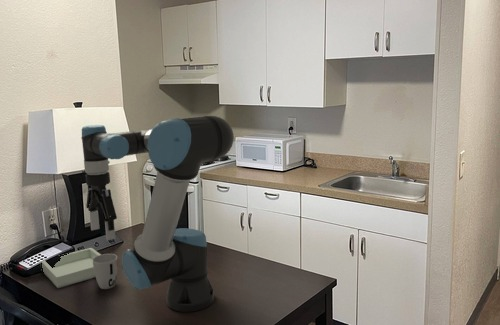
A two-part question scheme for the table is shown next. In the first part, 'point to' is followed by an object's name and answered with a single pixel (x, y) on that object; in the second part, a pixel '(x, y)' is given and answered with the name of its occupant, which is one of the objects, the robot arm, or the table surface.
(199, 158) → the robot arm
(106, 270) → the cup
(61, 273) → the bin
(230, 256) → the table surface
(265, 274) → the table surface
